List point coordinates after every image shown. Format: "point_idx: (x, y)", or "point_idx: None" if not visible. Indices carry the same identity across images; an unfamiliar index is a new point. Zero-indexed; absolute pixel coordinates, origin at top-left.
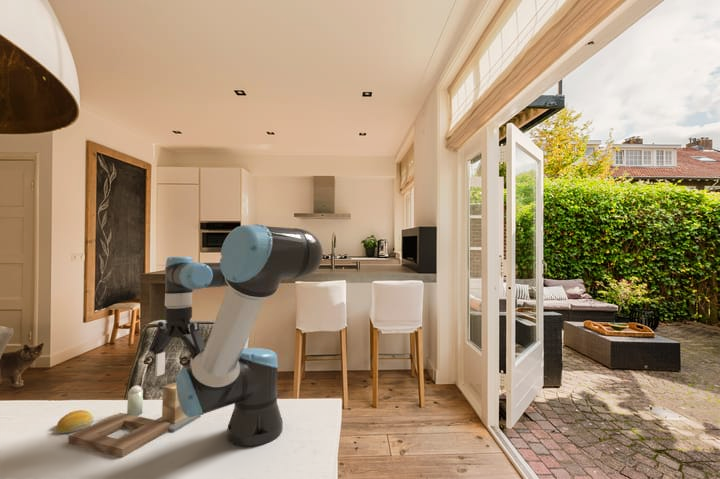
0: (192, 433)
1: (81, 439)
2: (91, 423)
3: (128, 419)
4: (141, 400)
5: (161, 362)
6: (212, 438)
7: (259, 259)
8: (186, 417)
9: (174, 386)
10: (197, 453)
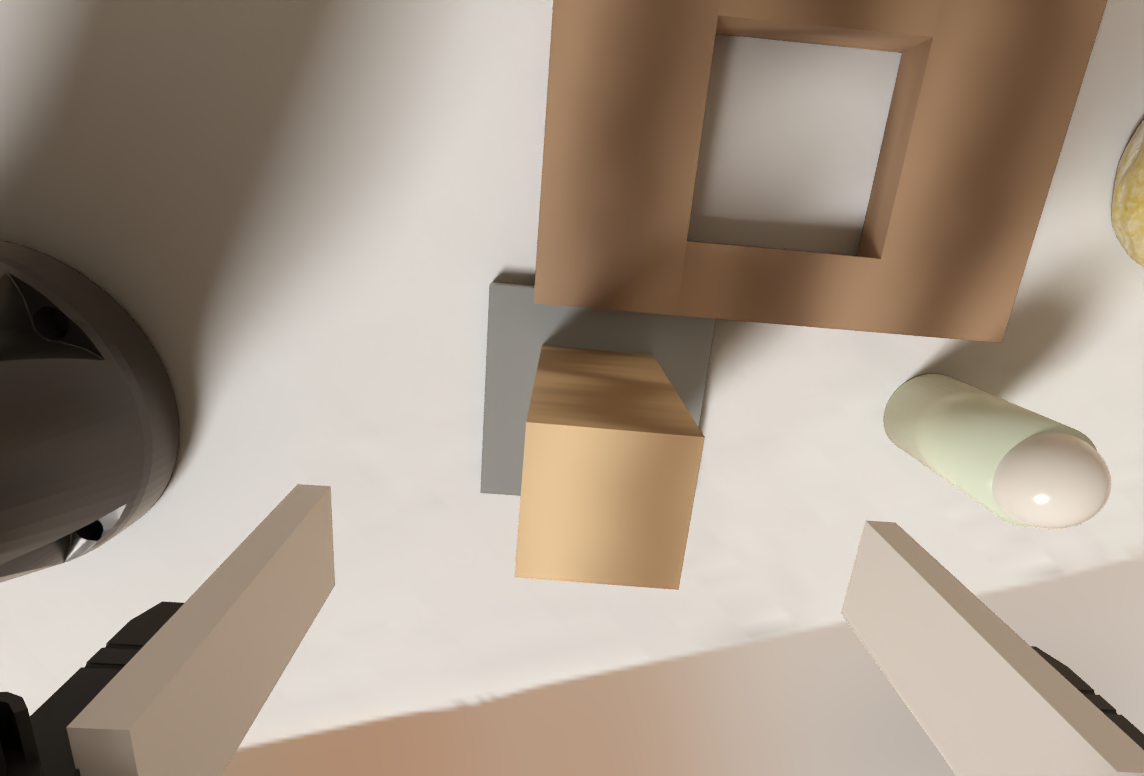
0: (368, 298)
1: None
2: (1116, 228)
3: (863, 273)
4: (939, 459)
5: (951, 690)
6: (203, 277)
7: None
8: None
9: (595, 475)
10: (146, 101)
